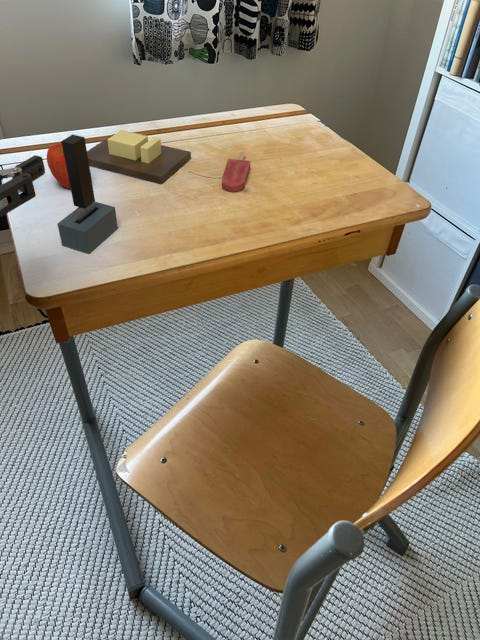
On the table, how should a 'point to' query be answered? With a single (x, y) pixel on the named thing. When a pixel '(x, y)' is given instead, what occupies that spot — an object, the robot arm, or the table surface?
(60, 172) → the apple
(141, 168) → the butter board
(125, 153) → the butter block
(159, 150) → the butter slice
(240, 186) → the popsicle
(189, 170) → the table surface
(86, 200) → the knife
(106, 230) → the knife stand
